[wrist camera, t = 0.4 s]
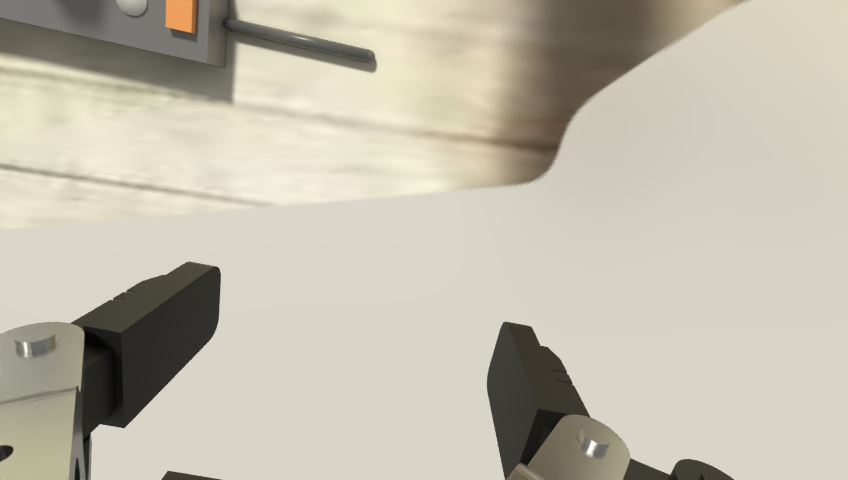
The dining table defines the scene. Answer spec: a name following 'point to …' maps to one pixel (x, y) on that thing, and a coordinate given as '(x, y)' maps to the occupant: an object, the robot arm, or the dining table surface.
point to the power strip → (162, 26)
